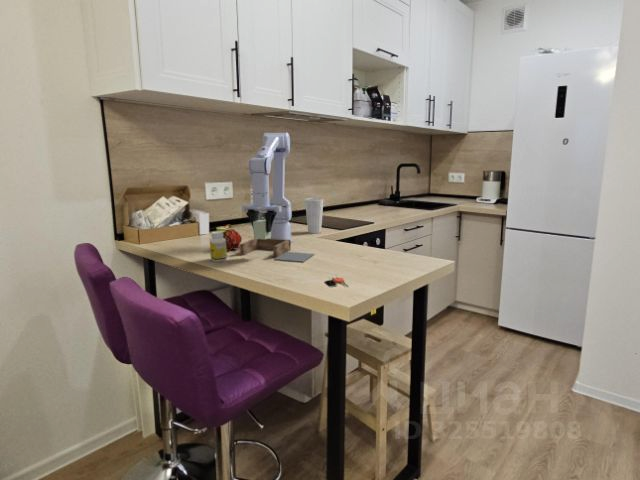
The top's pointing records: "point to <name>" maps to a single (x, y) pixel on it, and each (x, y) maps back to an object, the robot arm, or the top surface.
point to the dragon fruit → (232, 239)
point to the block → (260, 230)
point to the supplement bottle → (218, 247)
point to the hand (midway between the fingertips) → (262, 231)
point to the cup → (314, 214)
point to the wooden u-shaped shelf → (266, 246)
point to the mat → (294, 257)
